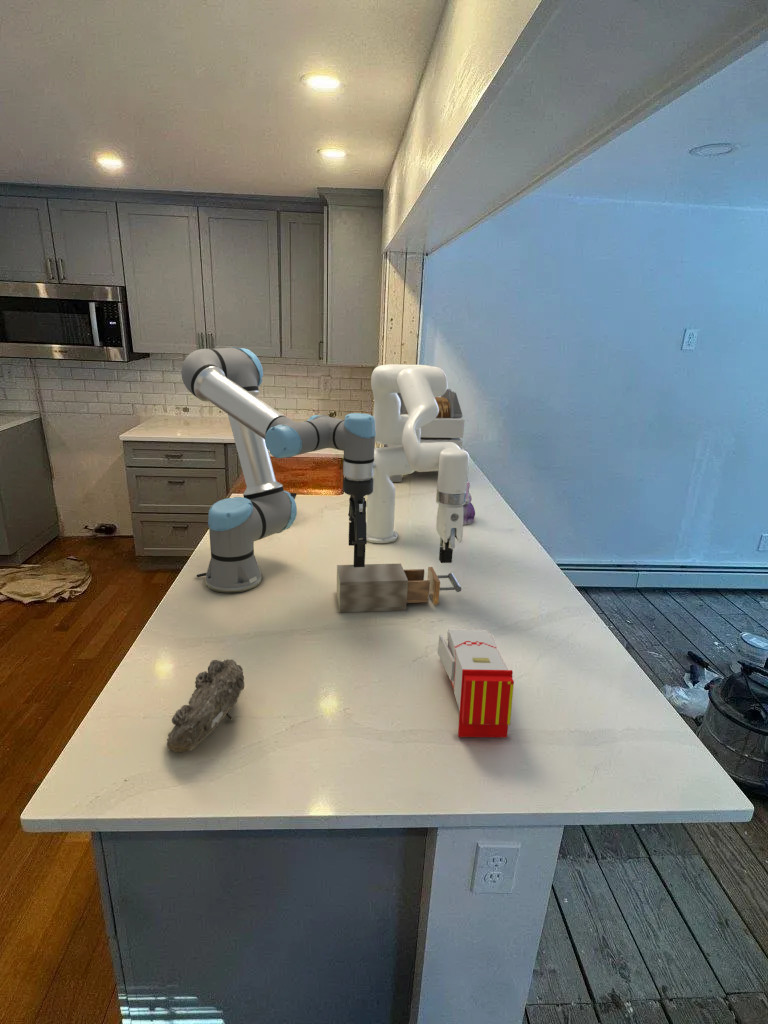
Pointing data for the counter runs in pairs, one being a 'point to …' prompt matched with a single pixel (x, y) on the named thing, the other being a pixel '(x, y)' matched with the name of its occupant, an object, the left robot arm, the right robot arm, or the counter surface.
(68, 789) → the counter surface
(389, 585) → the grey boxy block
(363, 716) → the counter surface
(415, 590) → the drawer
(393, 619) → the counter surface
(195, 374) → the left robot arm
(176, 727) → the fossil
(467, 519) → the figurine
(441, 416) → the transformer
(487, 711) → the toy
